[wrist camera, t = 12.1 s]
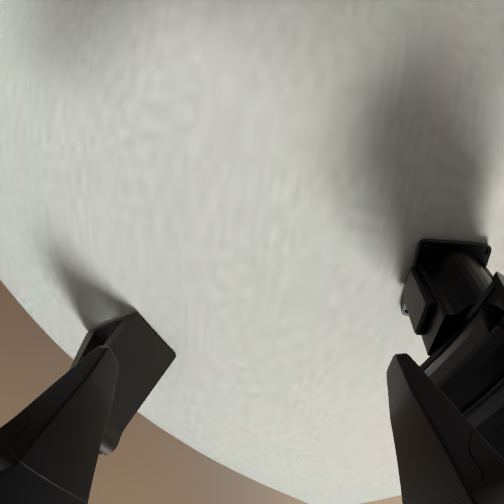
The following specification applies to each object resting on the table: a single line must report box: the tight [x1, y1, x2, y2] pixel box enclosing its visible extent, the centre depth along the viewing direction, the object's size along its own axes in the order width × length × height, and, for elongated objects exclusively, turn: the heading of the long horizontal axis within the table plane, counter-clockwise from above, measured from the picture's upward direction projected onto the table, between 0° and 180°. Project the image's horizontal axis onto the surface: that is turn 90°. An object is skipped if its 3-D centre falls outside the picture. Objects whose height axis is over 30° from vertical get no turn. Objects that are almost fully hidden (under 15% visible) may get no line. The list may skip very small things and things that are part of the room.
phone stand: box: [70, 312, 176, 455], centre depth 24 cm, size 9×6×12 cm, turn 120°
